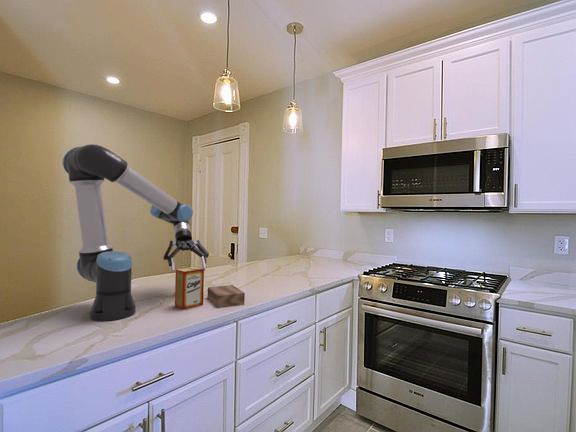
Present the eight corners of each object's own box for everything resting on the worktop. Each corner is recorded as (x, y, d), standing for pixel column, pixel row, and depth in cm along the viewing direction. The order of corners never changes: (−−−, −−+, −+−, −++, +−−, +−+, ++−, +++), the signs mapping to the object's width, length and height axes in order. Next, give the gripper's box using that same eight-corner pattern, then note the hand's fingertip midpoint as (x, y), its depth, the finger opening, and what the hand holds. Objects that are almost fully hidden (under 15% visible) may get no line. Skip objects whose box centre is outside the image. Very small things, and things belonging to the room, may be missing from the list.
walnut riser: (217, 307, 127) (218, 295, 127) (207, 298, 141) (207, 287, 141) (244, 304, 133) (244, 292, 133) (231, 295, 147) (232, 284, 147)
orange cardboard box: (182, 309, 124) (183, 270, 123) (174, 306, 128) (175, 268, 128) (203, 305, 131) (204, 268, 131) (194, 301, 135) (195, 266, 135)
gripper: (206, 238, 157) (214, 272, 145) (154, 239, 145) (158, 277, 132) (209, 229, 153) (218, 263, 140) (156, 229, 140) (160, 267, 127)
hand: (189, 270), depth 136 cm, fingers open, 13 cm apart
